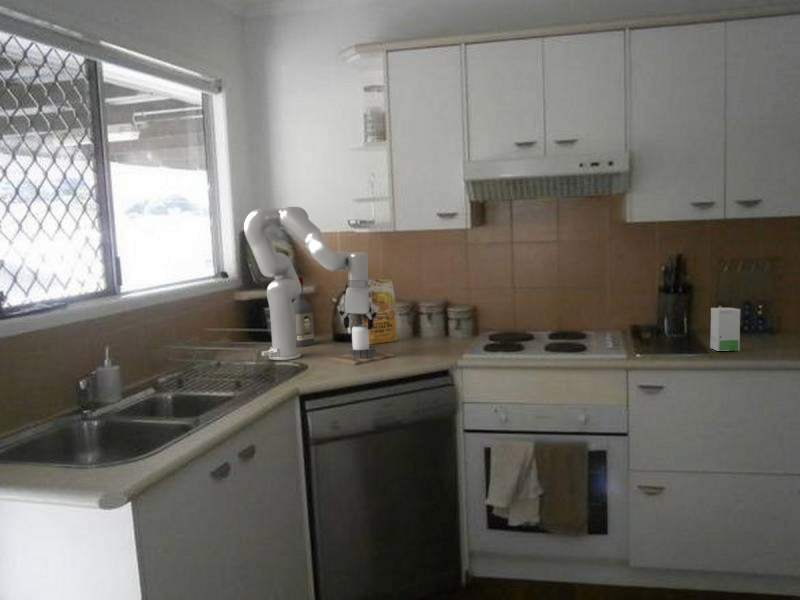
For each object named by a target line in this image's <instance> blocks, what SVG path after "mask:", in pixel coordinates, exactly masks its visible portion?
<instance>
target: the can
mask: <svg viewBox="0 0 800 600" xmlns="http://www.w3.org/2000/svg"><path fill="white" fill-rule="evenodd" d="M351 342H352V344H351V345H352V346H351V347H353V349H354V350H366V349H369V346H370V344H369V332H368V328H367V325H364V324H362V323H361V324H353V325H352V329H351Z"/></svg>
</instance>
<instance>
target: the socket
mask: <svg viewBox="0 0 800 600" xmlns="http://www.w3.org/2000/svg"><path fill="white" fill-rule="evenodd" d="M393 356H395V357H396V354H393V353H389V352H384V351H377V350H376V348H375V346H373V345H369V349H366V350H354V349H353V346H351V347H349V348H348V353H347V354H342V355H336V356H332V357H329V358H328V360H329V361H332V362H337V363H342V364H347V365H352V366H356V365H361V363H362V364H365V363H366V362H367V363H371V362H375V361H374V360H376V361H380V360H379V359H381V360H385V359H389V358H388V357H390V358H394V357H393ZM384 358H385V359H384ZM370 361H371V362H370Z"/></svg>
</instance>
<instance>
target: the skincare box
mask: <svg viewBox="0 0 800 600" xmlns="http://www.w3.org/2000/svg"><path fill="white" fill-rule="evenodd" d="M740 333H741V309H740V308H735V307H711V308H710V339H709V340H710V341H709V347H710V348H711V349H714V350H716V351H729V350H739V351H740V345H741V344H740V343H741V341H740V339H741V334H740ZM711 349H710V350H711ZM714 350H713V351H714ZM716 351H715V352H716Z"/></svg>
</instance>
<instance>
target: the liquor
mask: <svg viewBox="0 0 800 600" xmlns="http://www.w3.org/2000/svg"><path fill="white" fill-rule="evenodd" d="M297 277H298V279H299V281H300V284H301V293H300V295H299V296H298V297H297V298H296V299H293V300H292V304H293V308H294V317H295V332H296V346H297V347H296V348H300V347H302V348H303V347H309V345H310V346H313V345H314V343H315V331H314V313H313V312H314V311H313V306H312V305H311V304H310V303H309V302H308V301H307V299H306V298H305V295H304V286H303V285H304V277H303V276H297Z"/></svg>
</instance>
